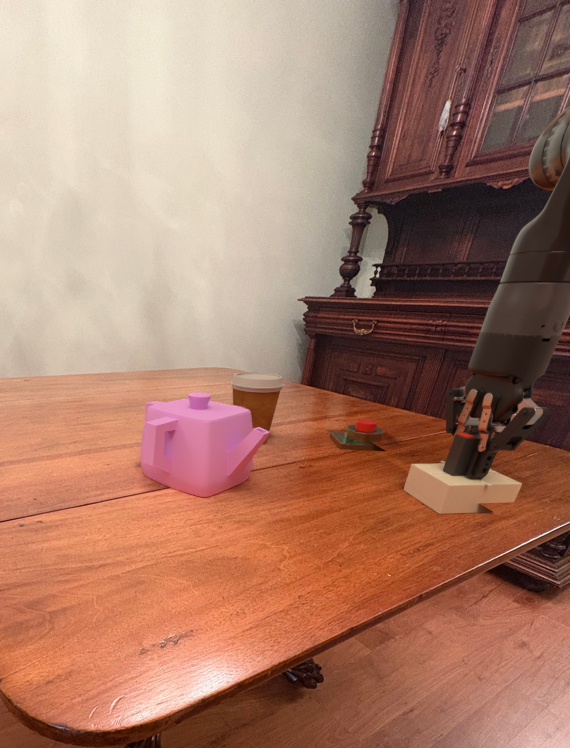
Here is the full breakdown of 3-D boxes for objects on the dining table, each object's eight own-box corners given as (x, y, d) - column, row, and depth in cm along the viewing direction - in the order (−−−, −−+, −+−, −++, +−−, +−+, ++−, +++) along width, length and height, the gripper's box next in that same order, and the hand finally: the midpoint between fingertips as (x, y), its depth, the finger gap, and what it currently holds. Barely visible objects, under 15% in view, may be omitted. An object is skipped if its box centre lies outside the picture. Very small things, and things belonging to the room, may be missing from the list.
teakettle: (141, 458, 72) (140, 382, 66) (240, 459, 73) (248, 383, 67) (138, 499, 58) (136, 406, 51) (262, 500, 58) (275, 407, 52)
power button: (371, 428, 82) (373, 419, 81) (377, 433, 78) (380, 424, 78) (351, 428, 82) (354, 418, 81) (357, 433, 79) (359, 423, 78)
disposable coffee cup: (258, 432, 87) (266, 370, 81) (284, 446, 80) (295, 378, 74) (216, 436, 85) (222, 372, 79) (240, 450, 77) (247, 381, 71)
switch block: (380, 439, 84) (384, 424, 83) (395, 452, 78) (400, 436, 76) (329, 437, 85) (332, 422, 84) (339, 449, 78) (343, 433, 77)
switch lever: (475, 469, 58) (491, 431, 56) (487, 475, 56) (503, 436, 54) (442, 470, 58) (455, 432, 55) (452, 475, 56) (466, 436, 53)
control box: (463, 486, 63) (474, 460, 61) (513, 513, 56) (527, 484, 53) (400, 488, 63) (409, 461, 60) (442, 516, 55) (453, 486, 53)
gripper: (447, 326, 54) (407, 457, 62) (544, 333, 42) (477, 495, 50) (501, 327, 55) (454, 457, 63) (611, 334, 43) (535, 493, 51)
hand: (464, 473), depth 57 cm, fingers open, 3 cm apart
